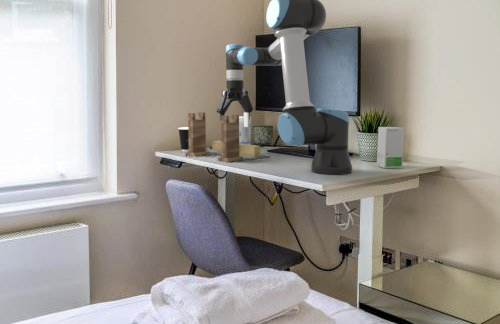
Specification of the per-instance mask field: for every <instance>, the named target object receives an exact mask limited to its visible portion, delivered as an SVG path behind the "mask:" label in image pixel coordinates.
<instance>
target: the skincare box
mask: <svg viewBox="0 0 500 324" xmlns="http://www.w3.org/2000/svg"><path fill="white" fill-rule="evenodd" d="M377 128H378V129H377V131H378V133H377V154H376V166H377V167H379V168H381V169H382V168H383V169H402V168H403V167H404V165H403V164H404V162H403V161H404V147H405V146H404V142H405V127H397V126H378V127H377Z"/></svg>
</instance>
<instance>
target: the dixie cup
mask: <svg viewBox="0 0 500 324" xmlns="http://www.w3.org/2000/svg"><path fill="white" fill-rule="evenodd" d="M177 129H178V133H179V134H178V136H179V142H180V149H181V152H183V153H185V152H189V135H188V126H185V127H183V126H182V127H177Z"/></svg>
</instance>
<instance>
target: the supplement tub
mask: <svg viewBox="0 0 500 324" xmlns="http://www.w3.org/2000/svg"><path fill="white" fill-rule="evenodd" d="M251 139H252V117H251V116H250V119H249V127H244V115H243V116H240V115H239V143H241V144H249V145H252V142H251V141H252V140H251Z"/></svg>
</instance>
